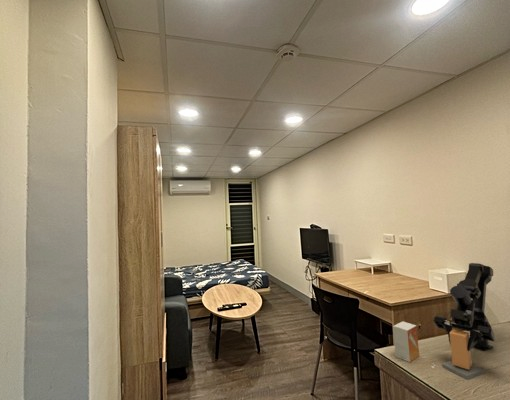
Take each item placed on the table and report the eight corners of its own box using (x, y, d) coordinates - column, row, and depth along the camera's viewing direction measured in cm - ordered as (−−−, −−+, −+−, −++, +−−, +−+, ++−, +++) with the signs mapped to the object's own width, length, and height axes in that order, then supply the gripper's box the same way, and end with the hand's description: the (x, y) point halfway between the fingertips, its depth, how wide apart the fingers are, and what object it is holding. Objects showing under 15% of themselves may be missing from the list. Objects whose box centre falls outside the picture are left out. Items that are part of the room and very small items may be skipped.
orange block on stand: (456, 359, 107) (453, 328, 107) (472, 364, 103) (468, 332, 104) (452, 364, 103) (449, 332, 104) (468, 369, 100) (465, 336, 100)
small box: (410, 362, 110) (407, 330, 110) (395, 356, 115) (392, 325, 116) (419, 356, 114) (417, 325, 115) (404, 350, 119) (402, 320, 120)
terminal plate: (459, 360, 109) (458, 351, 109) (484, 372, 101) (483, 362, 101) (442, 367, 105) (441, 357, 106) (467, 379, 97) (466, 368, 97)
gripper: (432, 296, 114) (425, 330, 107) (489, 306, 100) (485, 346, 92) (441, 310, 119) (434, 343, 111) (496, 321, 104) (493, 361, 97)
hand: (459, 348), depth 103 cm, fingers closed on orange block on stand, 5 cm apart
